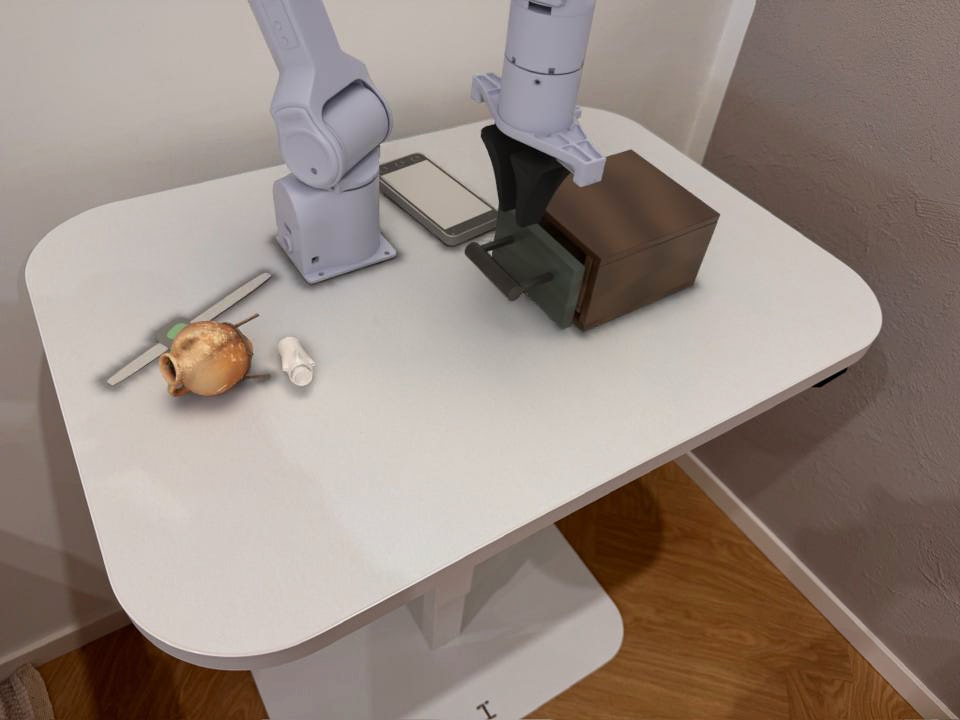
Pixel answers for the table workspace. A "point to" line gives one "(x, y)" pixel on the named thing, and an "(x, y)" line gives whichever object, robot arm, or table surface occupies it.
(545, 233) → the rack drawer
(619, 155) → the cabinet
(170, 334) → the strap with green oval
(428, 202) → the smartphone
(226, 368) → the pot
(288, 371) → the small white plastic part
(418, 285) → the table surface
